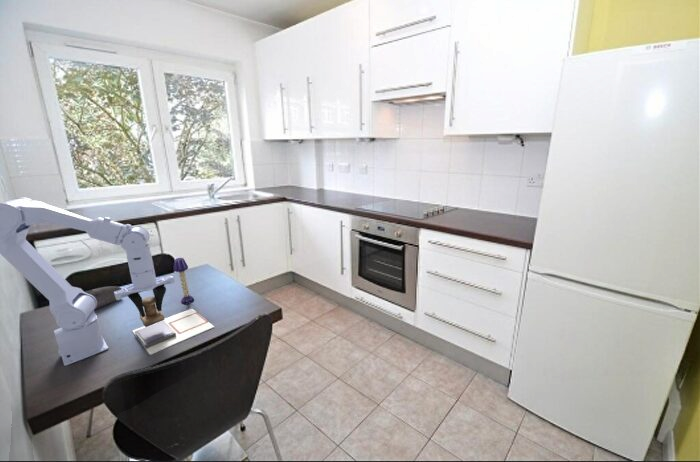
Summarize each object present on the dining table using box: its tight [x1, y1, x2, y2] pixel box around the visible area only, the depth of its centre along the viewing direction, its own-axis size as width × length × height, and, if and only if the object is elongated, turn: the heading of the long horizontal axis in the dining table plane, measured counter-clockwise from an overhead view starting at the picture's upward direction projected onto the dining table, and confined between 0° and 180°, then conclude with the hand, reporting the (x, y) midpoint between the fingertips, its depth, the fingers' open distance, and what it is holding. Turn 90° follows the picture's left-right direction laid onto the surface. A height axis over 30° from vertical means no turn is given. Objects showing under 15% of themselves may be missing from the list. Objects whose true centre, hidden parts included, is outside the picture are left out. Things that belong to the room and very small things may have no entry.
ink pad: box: [134, 321, 176, 350], centre depth 95 cm, size 8×10×1 cm
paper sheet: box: [131, 308, 215, 356], centre depth 98 cm, size 18×17×1 cm
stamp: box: [138, 296, 165, 327], centre depth 93 cm, size 5×5×7 cm
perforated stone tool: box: [84, 285, 122, 310], centre depth 113 cm, size 15×5×7 cm, turn 146°
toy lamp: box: [173, 257, 195, 305], centre depth 114 cm, size 5×5×17 cm
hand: (151, 312), depth 93 cm, fingers closed on stamp, 4 cm apart
